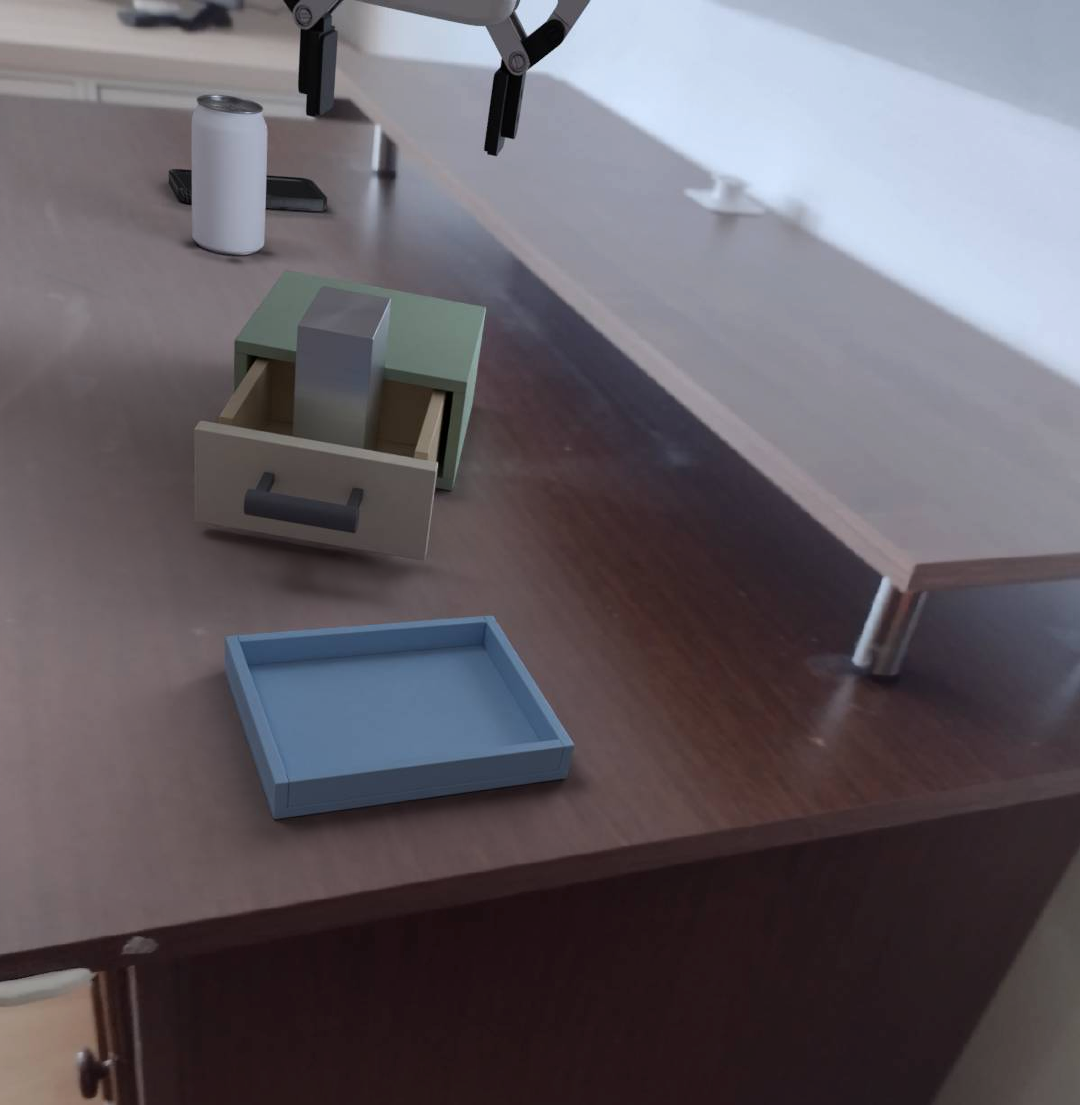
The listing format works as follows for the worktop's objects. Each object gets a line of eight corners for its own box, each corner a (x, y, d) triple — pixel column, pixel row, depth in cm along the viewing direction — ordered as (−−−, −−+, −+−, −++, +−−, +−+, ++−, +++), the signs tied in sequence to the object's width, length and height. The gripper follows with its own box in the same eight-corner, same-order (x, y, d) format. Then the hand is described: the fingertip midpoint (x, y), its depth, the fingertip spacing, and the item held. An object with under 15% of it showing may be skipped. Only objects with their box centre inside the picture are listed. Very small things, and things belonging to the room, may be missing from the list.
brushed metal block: (289, 487, 72) (297, 324, 66) (312, 439, 77) (321, 285, 71) (359, 499, 72) (373, 338, 66) (376, 451, 77) (391, 298, 72)
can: (222, 228, 114) (223, 90, 107) (278, 248, 112) (283, 109, 105) (177, 241, 109) (175, 97, 102) (235, 261, 107) (237, 116, 100)
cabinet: (452, 491, 79) (467, 382, 75) (232, 452, 78) (234, 339, 74) (472, 405, 91) (486, 306, 86) (280, 371, 90) (285, 269, 85)
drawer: (416, 595, 67) (427, 503, 63) (175, 554, 66) (173, 458, 62) (448, 462, 80) (459, 380, 77) (250, 427, 80) (252, 342, 76)
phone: (166, 168, 122) (310, 178, 128) (166, 179, 123) (310, 189, 129) (180, 191, 117) (330, 200, 123) (180, 203, 117) (329, 211, 123)
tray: (273, 820, 52) (275, 783, 51) (224, 670, 60) (224, 635, 58) (567, 778, 58) (575, 745, 56) (487, 646, 65) (492, 614, 64)
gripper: (233, -325, 51) (227, 110, 61) (627, -238, 51) (556, 180, 62) (283, -307, 57) (270, 86, 67) (635, -229, 57) (569, 151, 68)
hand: (406, 131), depth 64 cm, fingers open, 9 cm apart
